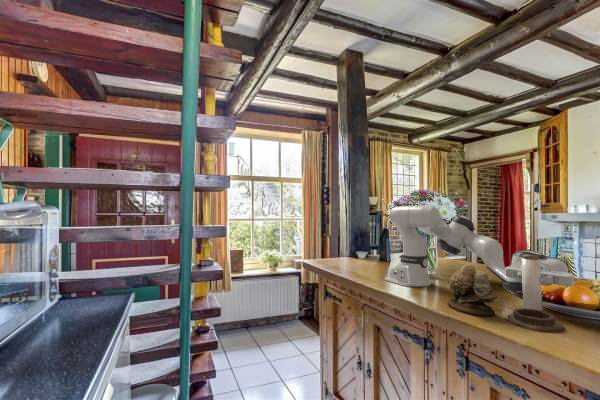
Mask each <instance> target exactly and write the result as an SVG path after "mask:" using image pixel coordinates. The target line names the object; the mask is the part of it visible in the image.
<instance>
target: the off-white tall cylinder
mask: <svg viewBox="0 0 600 400" xmlns="http://www.w3.org/2000/svg"><path fill="white" fill-rule="evenodd" d="M521 266H522V292H523V295H522V308H525V309H534V310H539V311H543V294H542V293H543V292H542V291H543V290H542V286H543V285H541V282H540V277H541V261H540V259H539V256H538V255H527V254H526V255H523V258H521Z"/></svg>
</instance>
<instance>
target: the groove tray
mask: <svg viewBox="0 0 600 400" xmlns="http://www.w3.org/2000/svg"><path fill="white" fill-rule="evenodd" d="M507 321H508V322H509V323H510V324H513V325H514V326H517V327H520V328H523V329H526V330H531V331H535V332H543V333H544V332H545V333H556V332H561V331H562V330H563V324H562V322H560V321H558V320H557V319H556V316H554V315H553V314H552V313H549V312H547V311H544V310H542V311H539V310H534V309H525V308H523V307H522V308H515V309H514V310H512V313H508V314H507Z"/></svg>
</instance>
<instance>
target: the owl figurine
mask: <svg viewBox="0 0 600 400" xmlns="http://www.w3.org/2000/svg"><path fill="white" fill-rule="evenodd" d="M461 267H462V268H460V269H457V270H456V271H455V272H454V273H453V275H452V276H451V277H449V288H450V291H451V293H452V294H453V296H454V298H450V300H448V301H447V306H448V307H449V309H452V310H453V311H456V312H459V313H462V314H465V315H469V316H474V317H483V318H484V317H486V318H487V317H490V316H491V317H492V316H495V315H496V311H495V310H494V309H493V308H492V307H491V306H490V305H488V303H493V302H494V300H495V299H498V296H497V295H495V294H492V292H493V290H492V289H493V288H492V285H491V284H490V281H489V274H488V273H487V272H485V271H483V270H477V271H476V267H475V266H474V265H473V264H471V263H466V264H464V265H463V266H461ZM486 303H487V304H486Z"/></svg>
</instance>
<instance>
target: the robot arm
mask: <svg viewBox="0 0 600 400" xmlns="http://www.w3.org/2000/svg"><path fill="white" fill-rule="evenodd" d="M388 217H389V221H390V223H391V224H392V225H393V226H394V227H395V228H396V229H397V231H398V232H399V234H400V236H401V241H402V254H401V255H399V256H398V259H400V260H399V262H397V263H396V264H395V265H394V266H392V267H391V268H390V271H389V275H388V276H387V277H384V280H385V281H386V282H390V283H394V284H397V285H400V286H404V287H428V286H430V285H432V282H431V280H430V275H429V269H428V264H429V257H428V255H427V239H426V238H425V237H424V236H423V235H421V234H419V233H418V231H420V232H422V233H424V234H427V235H429V236H432V237H437V238H439V239H438V240H437V242H438V243H439V247H440V249H441V250H442V251H443V252H444V253H445V254H447V255H450V256H451V255H452V256H458V255H459V254H460V253H461V251H462V249H463V248H464V246H465V247H466V248H467V250H468V251H470V252H471V253H472V254H473V255H475V256H477V257H479V258H480V259H481V260H482V262H483V263H484V265H485V267H486V269H487V270H488V271H490V273H492V274H493V275H494V276H495V277H497V278H498V279H500V280H501V281H502V282H503V283H505V284H506V285H507V287H508V288H509V289H510V290H511V291H512V290H513V292H514V291H522V266H521V258H523V255H526V254H527V255H538V256H539V259H540V261H541V277H540V282H541V286H543V287H547V286H552V285H556V286H562V287H573V286H574V285H575V282H577V281H579V279H580V278H579V277H577V276H575V275H574V274H573V273H570V272H569V267H568V265H567V264H566V263H565V262H564V261H563V260H560V259H557V258H548V257H547V256H546V255H545V254H543V253H542V252H539V251H535V250H527V249H522V250H518V251H515V252H514V253H512V257H511V264H510V265H508V266H505V263H504V250H503V249H504V248H503V246H502V244H501V243H500V242H499V241H497V239H494V238H492V237H489V236H486V235H482V234H478V233H476V232H474V231H476V230H477V229H476V228H475V225H474V222H473V221H472V220H471V219H469V218H468V217H467V216H463V215H455V216H454V217H453V218H452V219H451V221H450V223H449V224H447V222H446V221H445V220H444V219H443V218H441V213H440V211H439V209H438V208H437V207H435V206H431V205H399V206H396V207H393V208H392V209H391V210H390V212H389V216H388ZM417 230H418V231H417Z"/></svg>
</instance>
